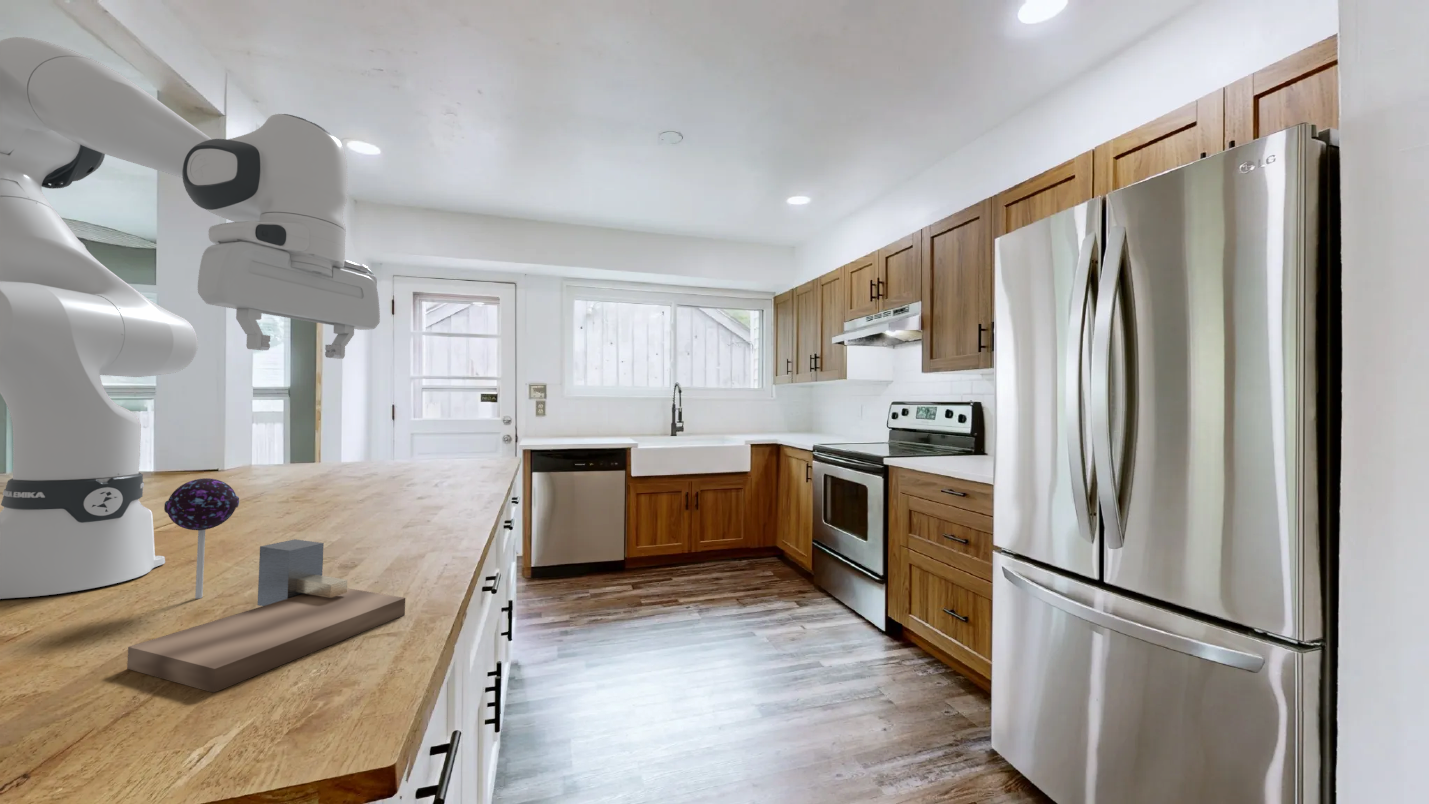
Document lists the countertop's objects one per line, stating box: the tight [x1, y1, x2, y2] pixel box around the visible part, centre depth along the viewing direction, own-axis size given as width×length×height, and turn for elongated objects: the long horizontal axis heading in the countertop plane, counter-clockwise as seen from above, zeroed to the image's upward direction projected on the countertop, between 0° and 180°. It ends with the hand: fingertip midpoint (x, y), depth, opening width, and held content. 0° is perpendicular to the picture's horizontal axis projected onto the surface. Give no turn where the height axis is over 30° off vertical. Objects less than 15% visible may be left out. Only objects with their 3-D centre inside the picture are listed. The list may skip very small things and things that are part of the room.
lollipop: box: [163, 477, 240, 600], centre depth 68 cm, size 7×7×15 cm
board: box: [126, 587, 406, 693], centre depth 57 cm, size 12×19×2 cm, turn 162°
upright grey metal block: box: [257, 538, 348, 607], centre depth 65 cm, size 10×4×7 cm, turn 72°
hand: (298, 354), depth 69 cm, fingers open, 8 cm apart
